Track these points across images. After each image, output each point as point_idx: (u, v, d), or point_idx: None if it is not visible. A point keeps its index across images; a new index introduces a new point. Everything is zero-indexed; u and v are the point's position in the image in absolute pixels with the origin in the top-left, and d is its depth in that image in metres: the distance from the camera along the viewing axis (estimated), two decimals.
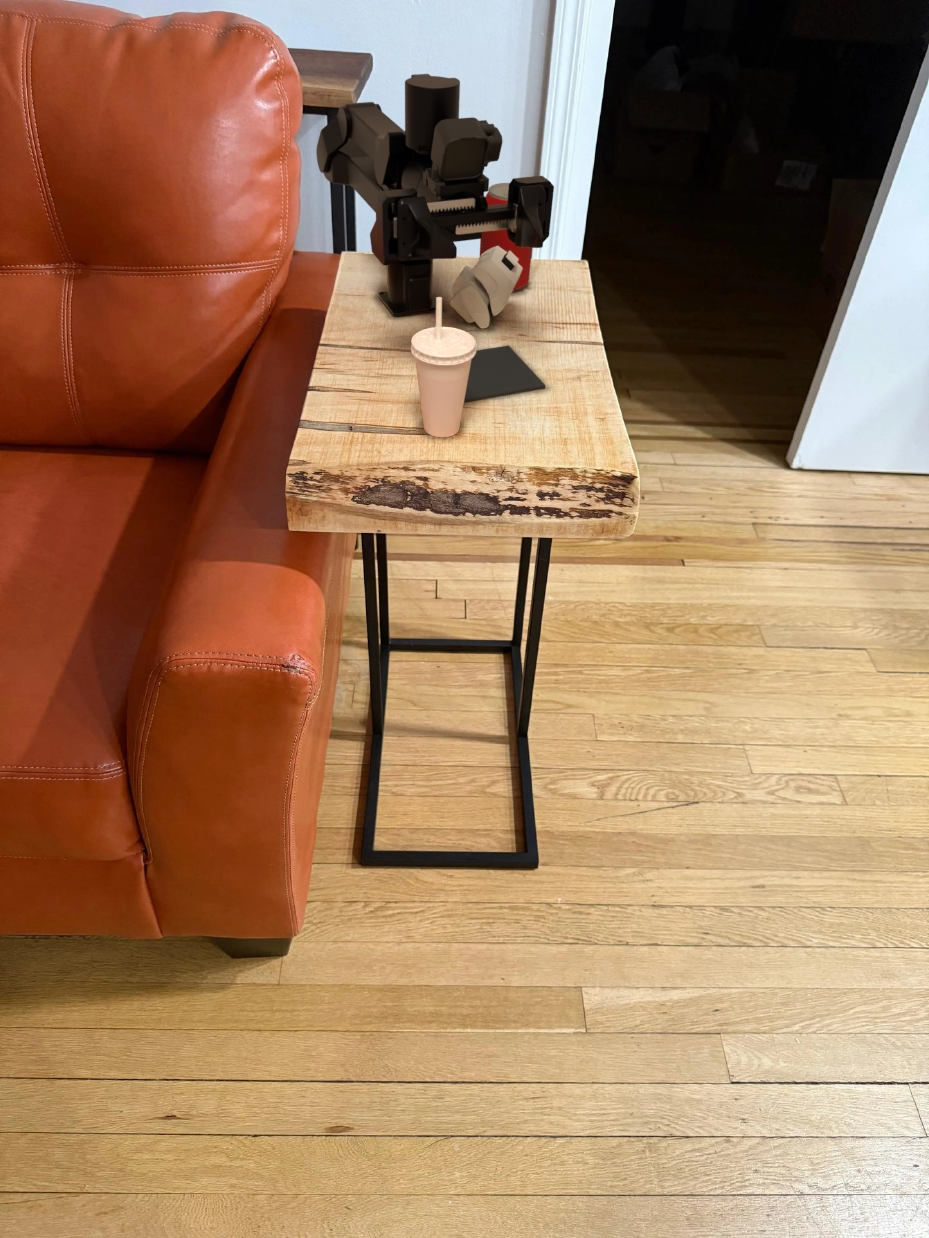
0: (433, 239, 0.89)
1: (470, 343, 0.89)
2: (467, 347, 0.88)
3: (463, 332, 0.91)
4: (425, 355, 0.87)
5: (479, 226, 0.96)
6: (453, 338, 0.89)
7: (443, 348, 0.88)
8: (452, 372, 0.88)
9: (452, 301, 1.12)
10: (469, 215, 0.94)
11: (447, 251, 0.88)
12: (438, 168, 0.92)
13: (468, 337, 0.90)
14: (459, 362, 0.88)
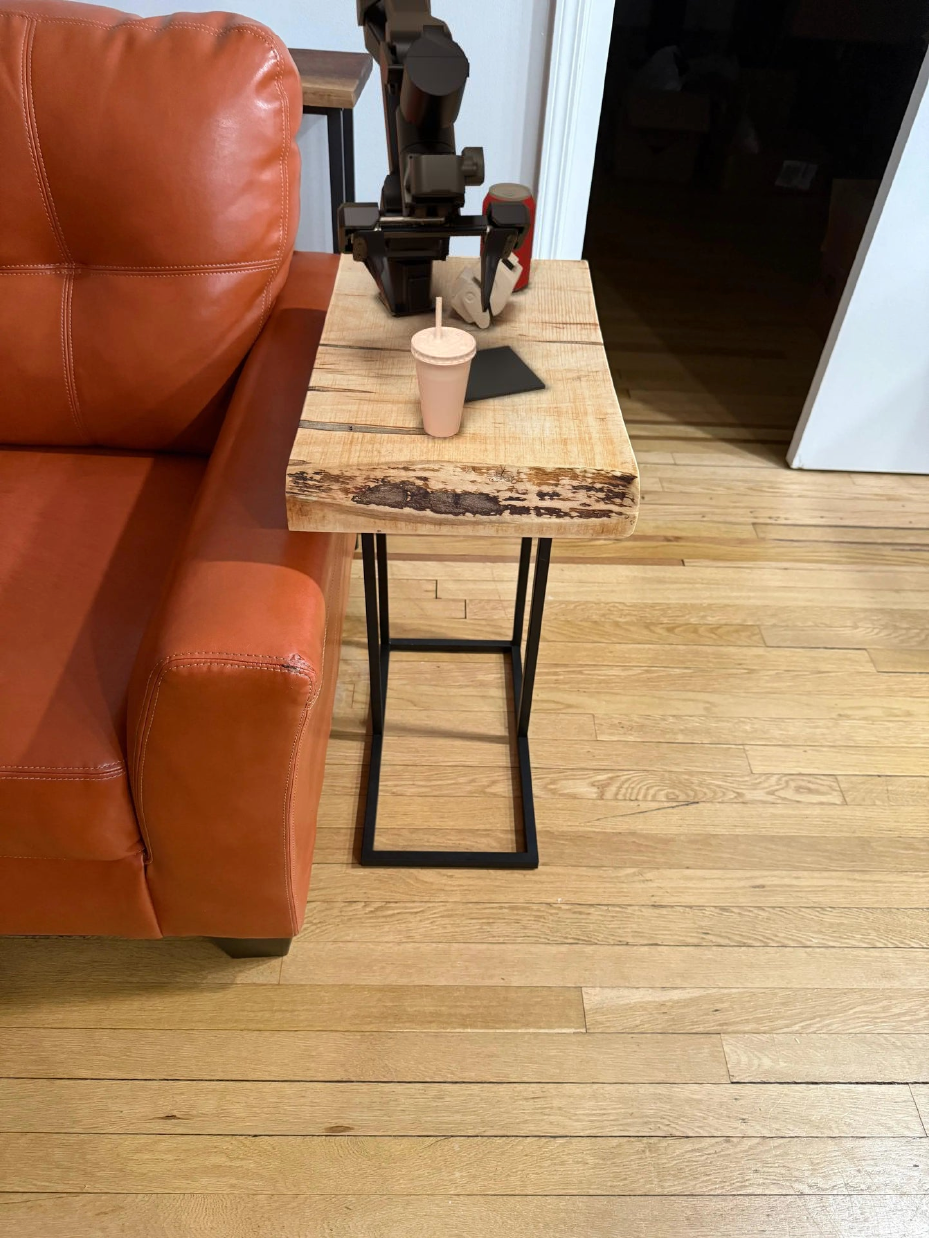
0: (380, 282, 0.90)
1: (470, 343, 0.89)
2: (467, 347, 0.88)
3: (463, 332, 0.91)
4: (425, 355, 0.87)
5: None
6: (453, 338, 0.89)
7: (443, 348, 0.88)
8: (452, 372, 0.88)
9: (452, 301, 1.12)
10: (435, 233, 0.91)
11: (387, 305, 0.90)
12: (410, 189, 0.87)
13: (468, 337, 0.90)
14: (459, 362, 0.88)
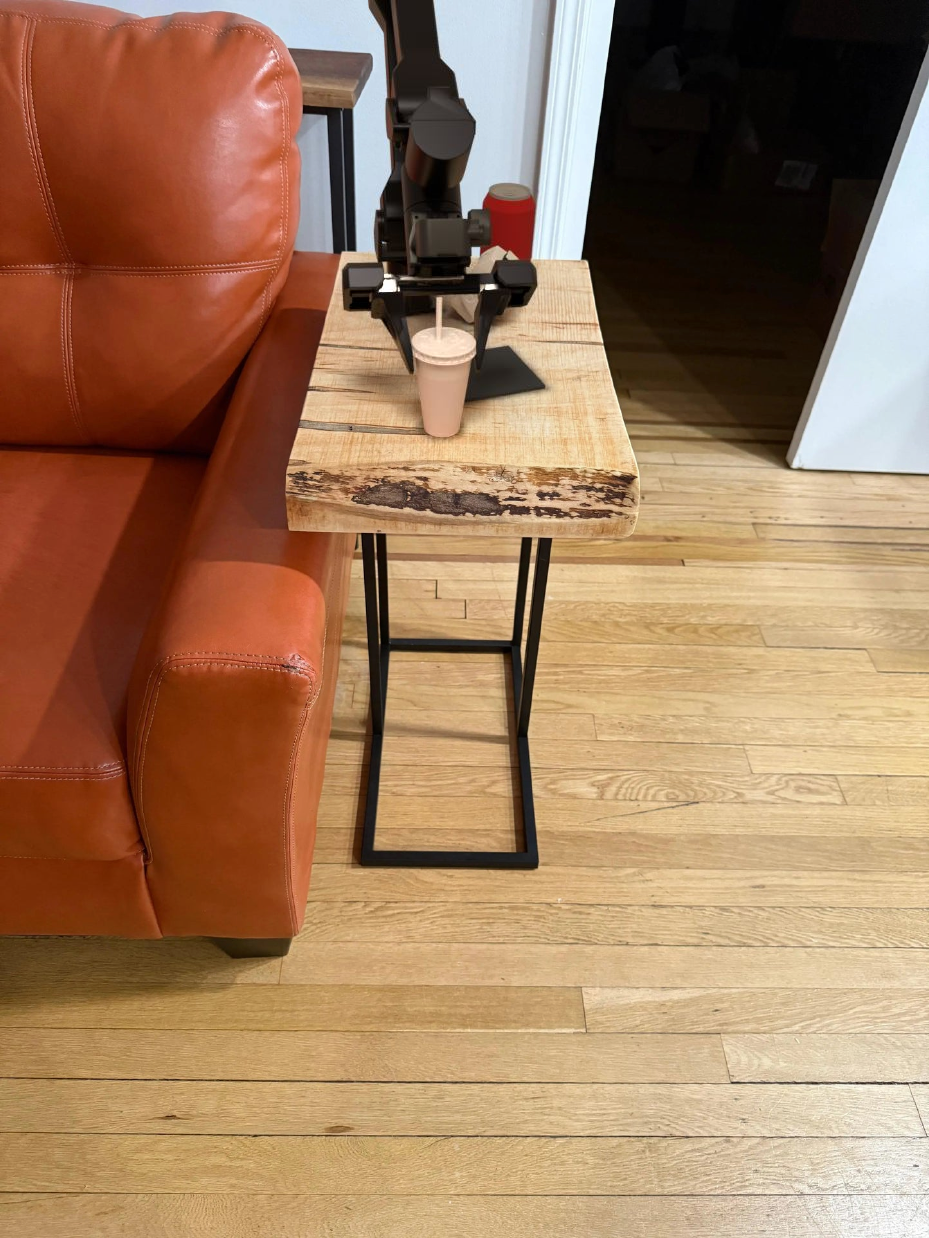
0: (398, 342, 0.89)
1: (470, 343, 0.89)
2: (467, 347, 0.88)
3: (463, 332, 0.91)
4: (425, 355, 0.87)
5: None
6: (453, 338, 0.89)
7: (443, 348, 0.88)
8: (452, 372, 0.88)
9: (452, 301, 1.12)
10: (440, 291, 0.90)
11: (406, 365, 0.89)
12: (416, 250, 0.85)
13: (468, 337, 0.90)
14: (459, 362, 0.88)
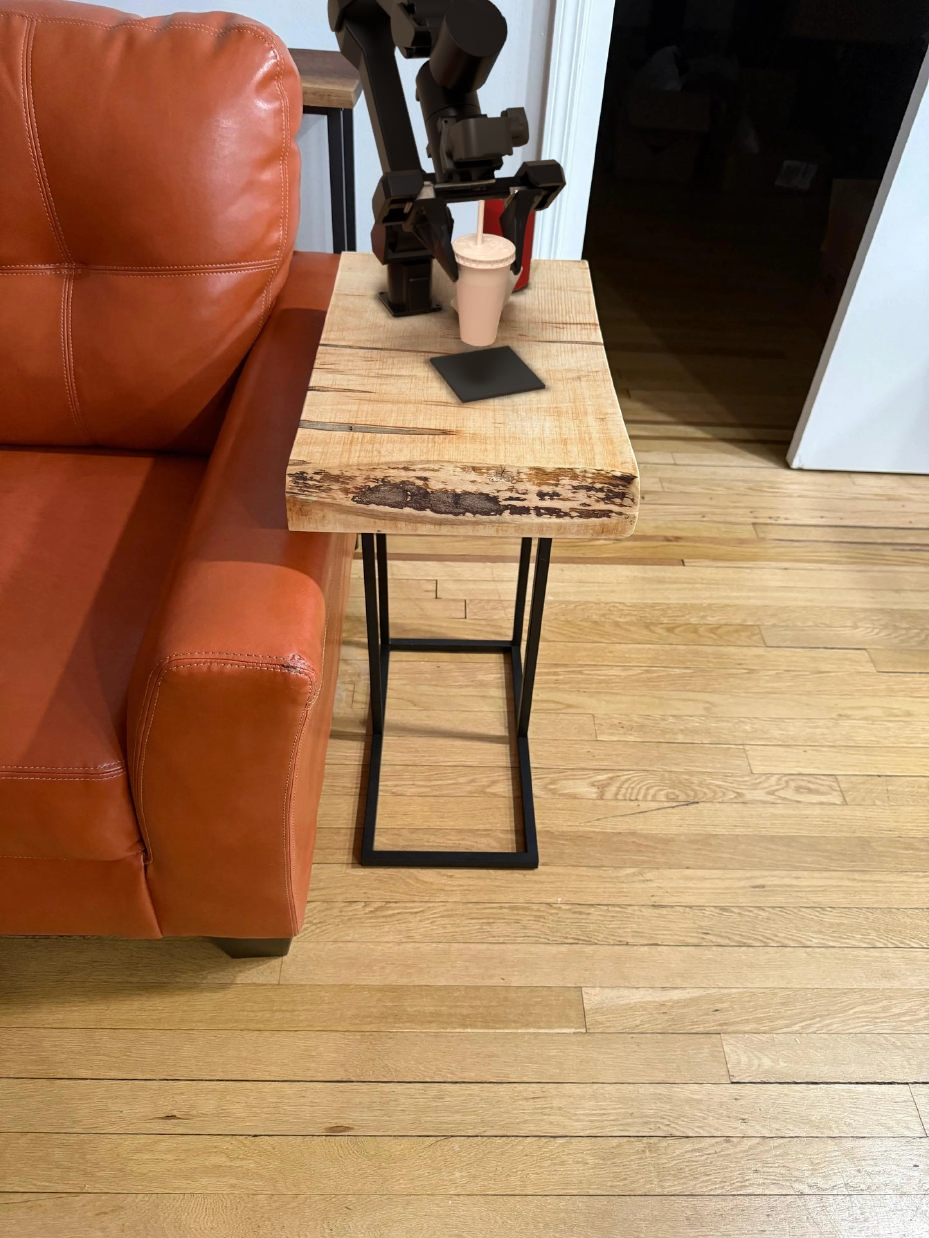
0: (440, 250, 0.89)
1: (509, 246, 0.90)
2: (509, 250, 0.90)
3: (497, 237, 0.92)
4: (471, 260, 0.88)
5: None
6: (492, 242, 0.90)
7: (486, 252, 0.89)
8: (497, 276, 0.90)
9: (452, 301, 1.12)
10: (472, 197, 0.90)
11: (449, 273, 0.90)
12: (453, 154, 0.86)
13: (505, 241, 0.91)
14: (505, 265, 0.89)
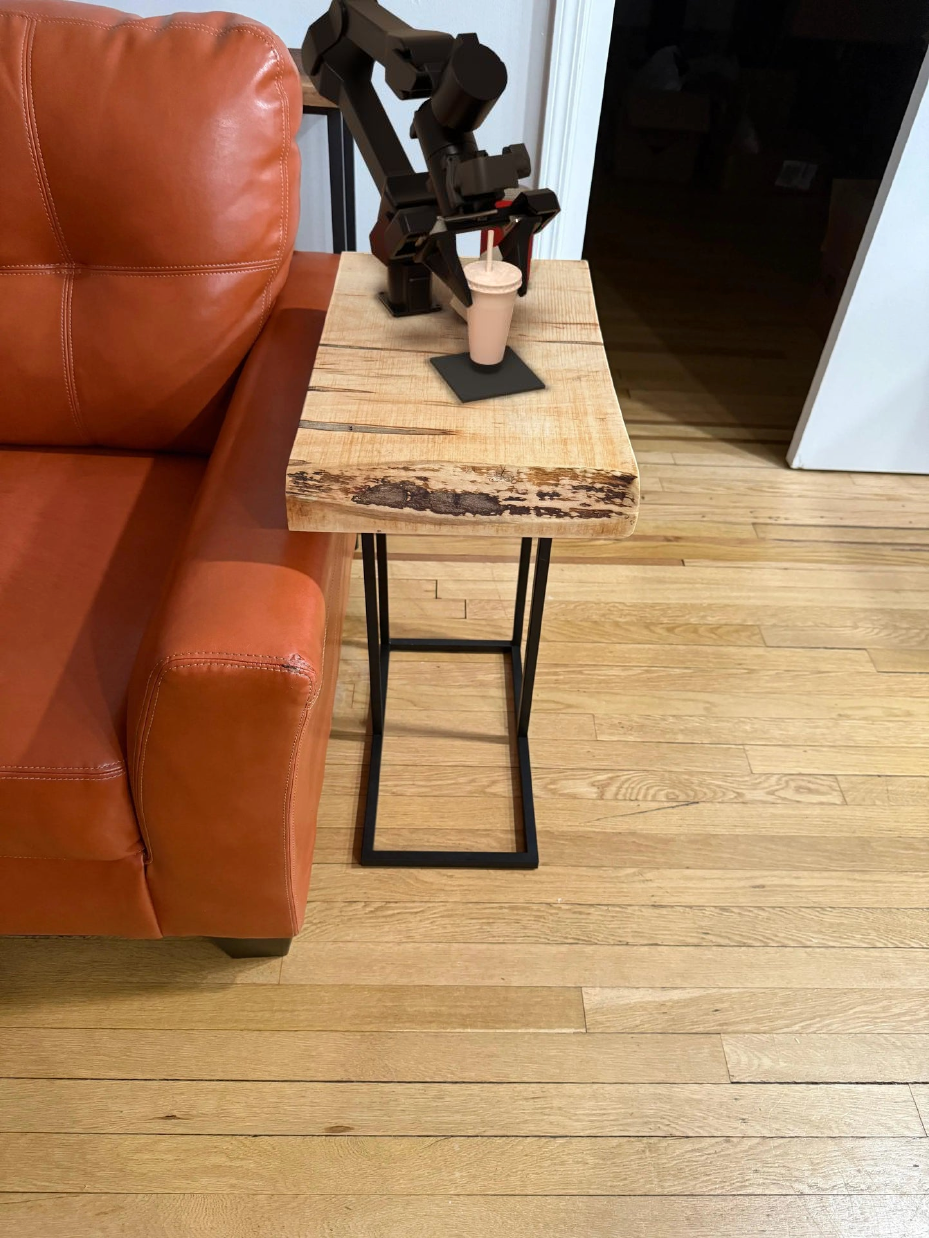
0: (453, 279, 0.95)
1: (516, 270, 0.97)
2: (516, 274, 0.96)
3: (502, 262, 0.98)
4: (485, 286, 0.94)
5: None
6: (499, 268, 0.97)
7: (497, 278, 0.96)
8: (508, 299, 0.96)
9: (452, 301, 1.12)
10: (477, 227, 0.97)
11: (463, 299, 0.96)
12: (462, 189, 0.92)
13: (509, 266, 0.98)
14: (515, 288, 0.96)
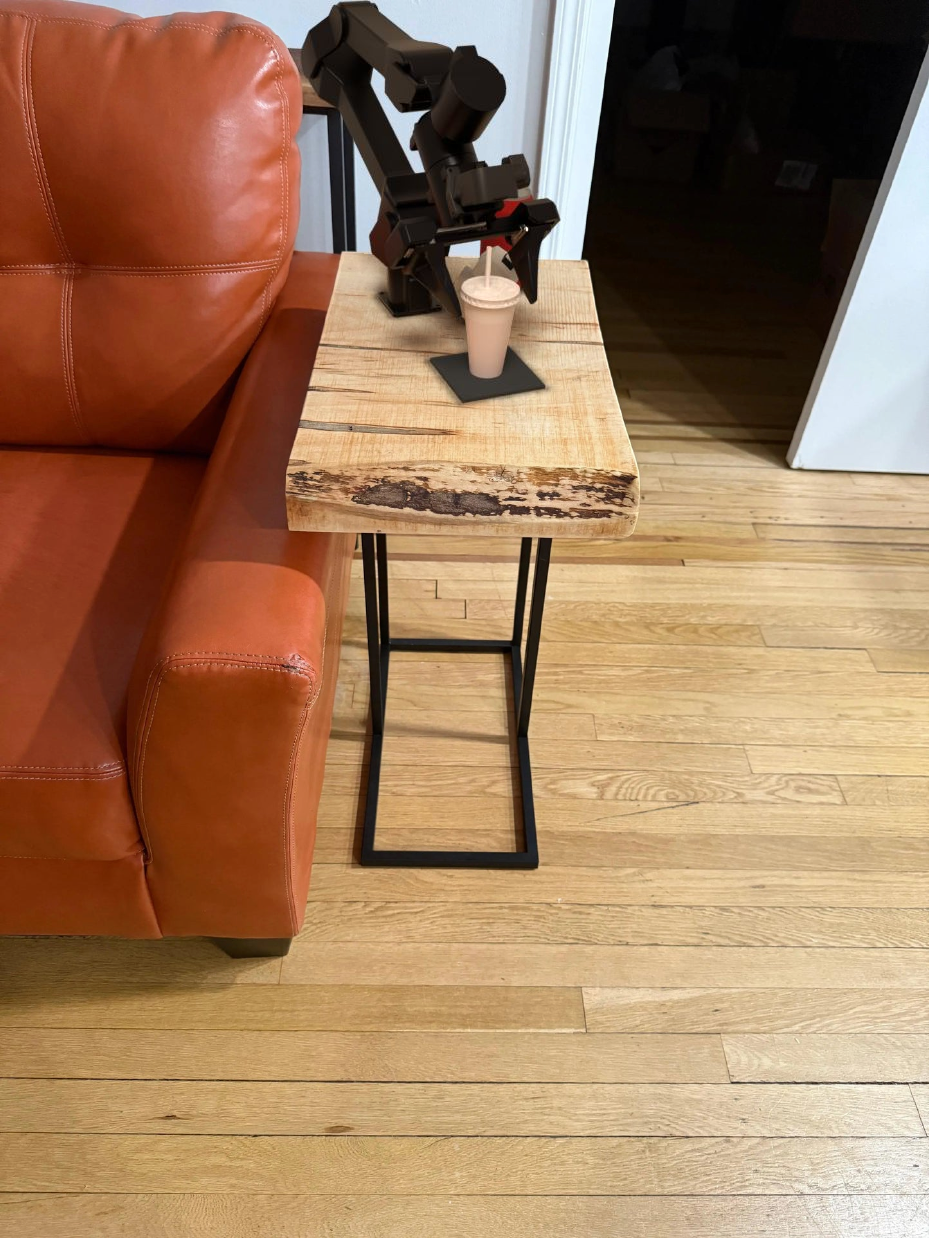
0: (442, 290, 0.95)
1: (514, 285, 0.98)
2: (514, 289, 0.98)
3: (500, 278, 1.00)
4: (484, 301, 0.96)
5: None
6: (498, 283, 0.98)
7: (495, 293, 0.97)
8: (507, 314, 0.97)
9: None
10: (477, 237, 0.97)
11: (452, 311, 0.96)
12: (462, 199, 0.93)
13: (508, 281, 0.99)
14: (513, 303, 0.97)
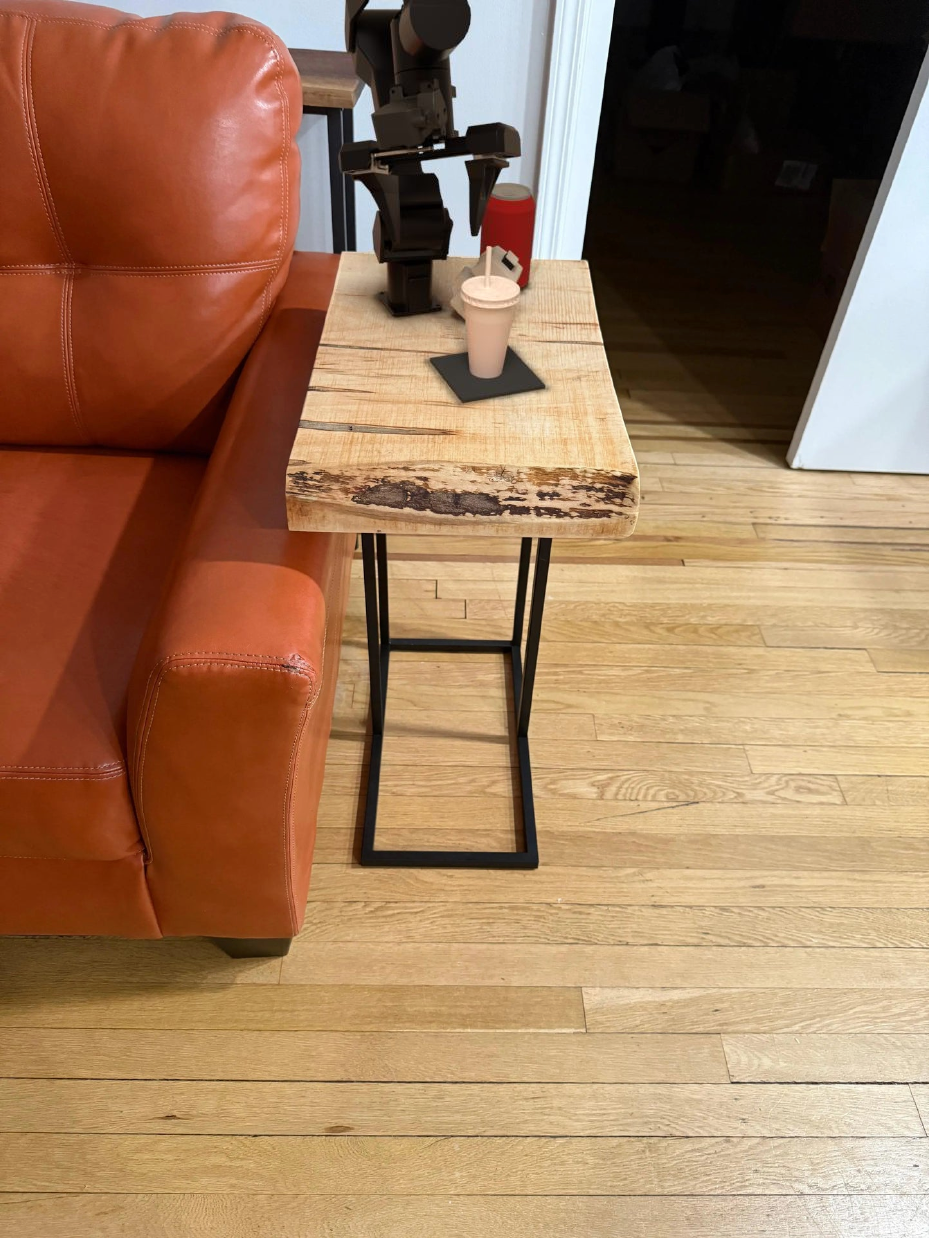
0: None
1: (514, 285, 0.98)
2: (514, 289, 0.98)
3: (500, 278, 1.00)
4: (484, 301, 0.96)
5: None
6: (498, 283, 0.98)
7: (495, 293, 0.97)
8: (507, 314, 0.97)
9: (452, 301, 1.12)
10: (428, 159, 0.96)
11: None
12: None
13: (508, 281, 0.99)
14: (513, 303, 0.97)
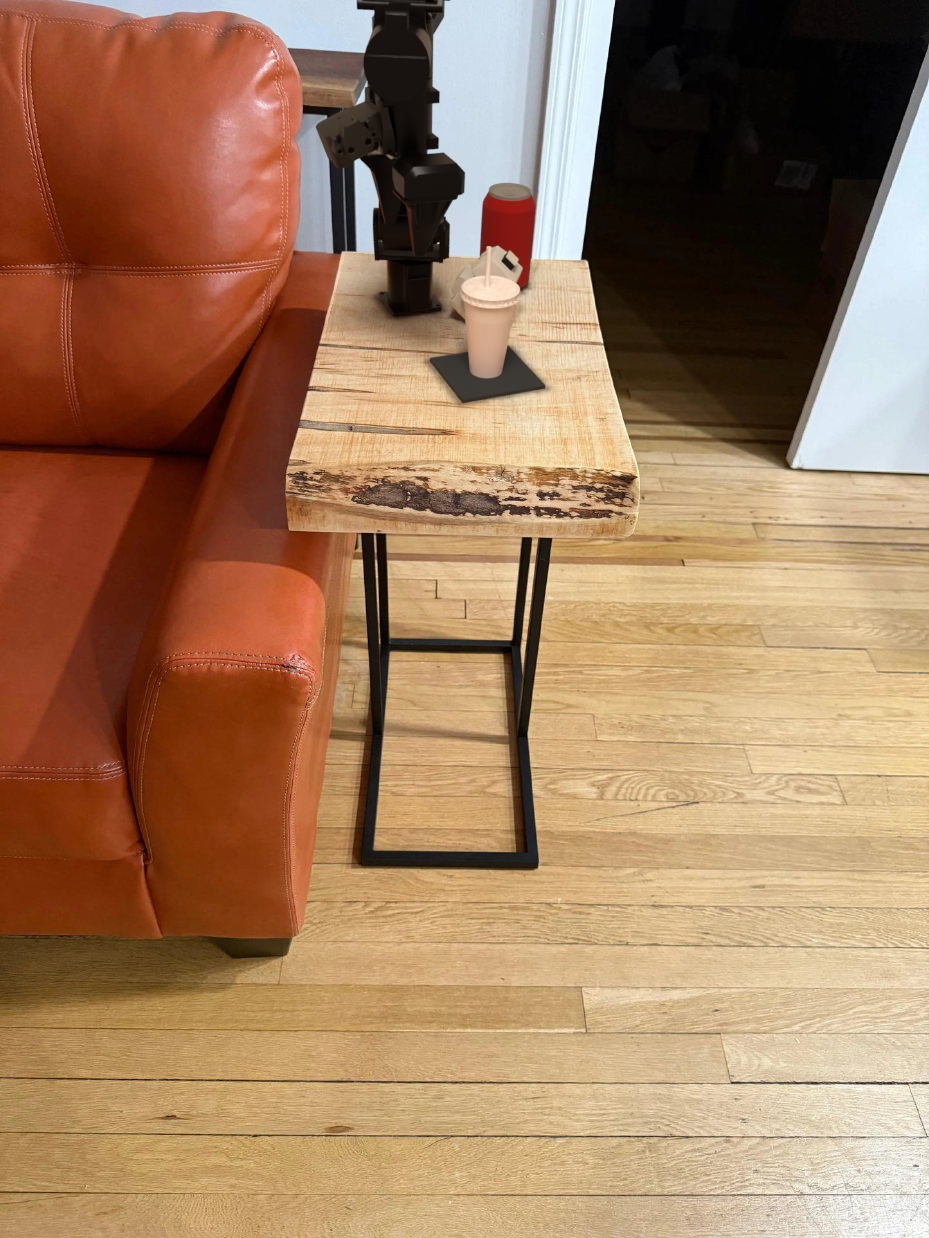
0: None
1: (514, 285, 0.98)
2: (514, 289, 0.98)
3: (500, 278, 1.00)
4: (484, 301, 0.96)
5: None
6: (498, 283, 0.98)
7: (495, 293, 0.97)
8: (507, 314, 0.97)
9: (452, 301, 1.12)
10: None
11: None
12: None
13: (508, 281, 0.99)
14: (513, 303, 0.97)
